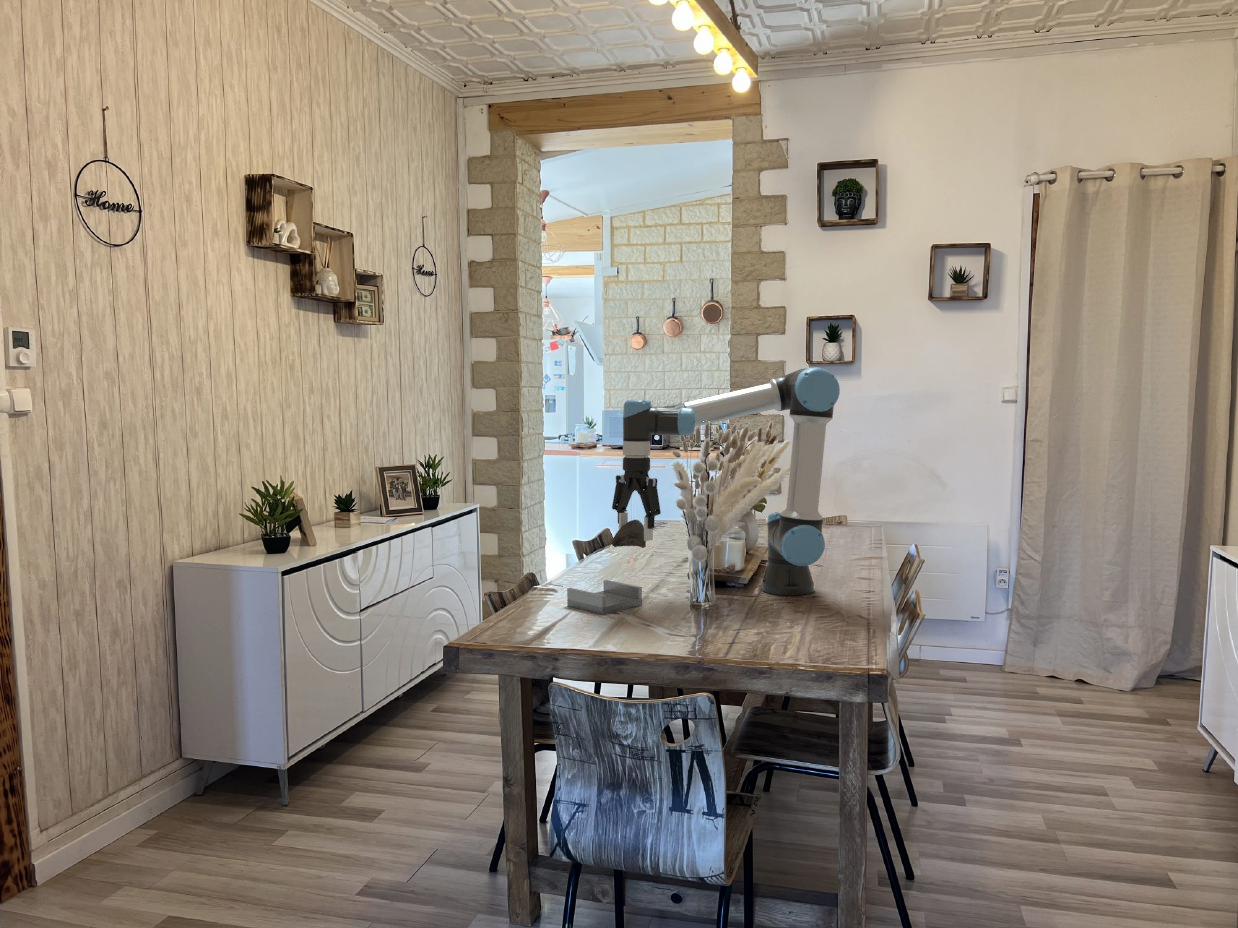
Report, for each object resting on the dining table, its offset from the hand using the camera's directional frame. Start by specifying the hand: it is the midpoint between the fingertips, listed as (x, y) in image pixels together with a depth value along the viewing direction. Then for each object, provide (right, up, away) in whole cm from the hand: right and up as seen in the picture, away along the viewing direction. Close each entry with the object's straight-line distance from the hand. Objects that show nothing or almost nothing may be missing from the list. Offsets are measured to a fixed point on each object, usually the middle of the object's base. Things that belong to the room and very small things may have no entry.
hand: (635, 538), depth 248 cm
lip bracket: (-8, -19, 0) cm, 20 cm away
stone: (-1, -2, 0) cm, 3 cm away
